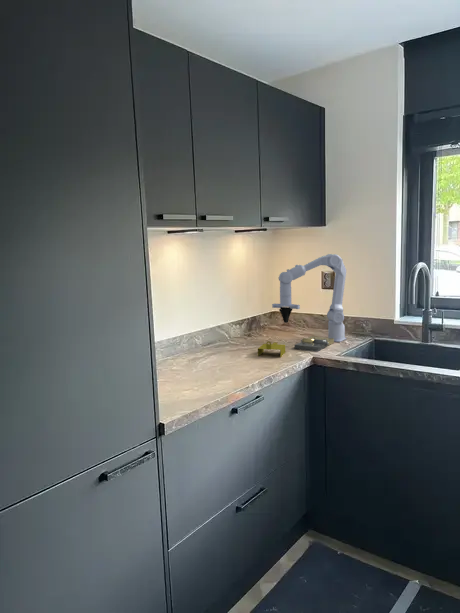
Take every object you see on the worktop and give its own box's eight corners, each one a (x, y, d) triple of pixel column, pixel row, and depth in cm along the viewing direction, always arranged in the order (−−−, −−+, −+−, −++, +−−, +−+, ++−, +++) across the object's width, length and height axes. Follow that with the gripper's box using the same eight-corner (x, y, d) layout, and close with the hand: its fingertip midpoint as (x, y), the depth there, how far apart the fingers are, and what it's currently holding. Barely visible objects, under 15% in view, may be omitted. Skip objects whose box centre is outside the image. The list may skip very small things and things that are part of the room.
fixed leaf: (294, 348, 218) (294, 341, 218) (304, 344, 228) (304, 337, 228) (320, 351, 211) (320, 344, 211) (329, 346, 221) (329, 339, 220)
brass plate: (299, 344, 226) (299, 338, 226) (309, 340, 236) (309, 334, 235) (324, 347, 219) (324, 340, 218) (333, 342, 228) (333, 336, 228)
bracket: (292, 335, 214) (285, 342, 200) (292, 351, 216) (286, 359, 201) (260, 334, 219) (251, 340, 205) (260, 350, 221) (252, 357, 206)
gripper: (269, 296, 231) (269, 322, 232) (295, 297, 223) (295, 324, 224) (275, 294, 236) (276, 320, 238) (301, 295, 228) (301, 322, 230)
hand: (286, 322), depth 232 cm, fingers closed
